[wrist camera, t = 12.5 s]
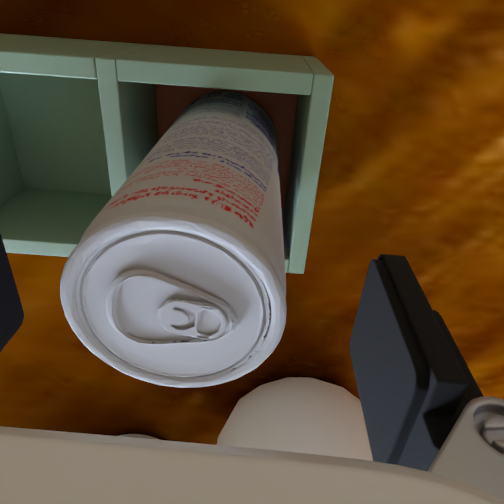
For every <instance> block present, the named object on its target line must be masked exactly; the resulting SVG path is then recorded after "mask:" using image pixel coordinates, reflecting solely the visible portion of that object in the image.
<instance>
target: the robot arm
mask: <svg viewBox="0 0 504 504" xmlns="http://www.w3.org/2000/svg"><path fill="white" fill-rule="evenodd" d="M23 318H24V312H23V308H22V305H21V302H20V298H19V295H18V291H17V288H16V284H15V281H14V278H13V274H12V271H11V267H10V264H9V260H8V257H7V254H6V250H5V247H4V243H3V240H2V236H1V234H0V352H1V350H2V349H3V348H4V347H5V345H6V344H7V343H8V341H9V340H10V339H11V338H12V336H13V335H14V334H15V333H16V331H17V330H18V329H19V327H20V326H21V324H22V322H23ZM350 355H351V359H352V364H353V369H354V373H355V378H356V383H357V388H358V392H359V397H360V402H361V406H362V411H363V416H364V420H365V425H366V430H367V435H368V439H369V444H370V449H371V453H372V458H373V461H368V460H362V459H354V458H344V457H335V456H326V455H316V454H307V453H297V452H288V451H279V450H268V449H256V448H245V447H234V446H223V445H212V444H201V443H190V442H178V441H167V440H156V439H145V438H133V437H121V436H109V435H98V434H86V433H74V432H62V431H50V430H38V429H26V428H14V427H2V426H0V504H504V399H500V398H496V397H483V395H482V393H481V391H480V389H479V387H478V385H477V383H476V381H475V379H474V378H473V376H472V374H471V372H470V370H469V368H468V366H467V364H466V362H465V361H464V359H463V357H462V355H461V353H460V351H459V349H458V347H457V345H456V343H455V342H454V340H453V338H452V336H451V334H450V332H449V330H448V328H447V326H446V324H445V323H444V321H443V319H442V317H441V315H440V314H439V313H438V312H437V311H435V310H432V308H431V306H430V304H429V302H428V300H427V298H426V296H425V294H424V292H423V290H422V289H421V287H420V285H419V283H418V281H417V279H416V277H415V275H414V273H413V271H412V269H411V267H410V265H409V263H408V261H407V259H406V258H405V256H398V255H385V254H381V255H380V256H379V257H378V260H376V259H372V260H371V262H370V264H369V268H368V272H367V276H366V280H365V284H364V288H363V292H362V296H361V299H360V303H359V307H358V311H357V315H356V319H355V323H354V327H353V331H352V335H351V339H350Z"/></svg>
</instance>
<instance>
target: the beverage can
mask: <svg viewBox="0 0 504 504" xmlns="http://www.w3.org/2000/svg"><path fill="white" fill-rule="evenodd" d="M60 296H61V302H62V306H63V310H64V313H65V316H66V318H67V320H68V322H69V324H70V326H71V328H72V330H73V331H74V333H75V334H76V335H77V337H78V338H79V339H80V341H81V342H82V343H83V344H84V345H85V346H86V347H87V348H88V349H89V350H90V351H91V352H92V353H93V354H95V355H96V356H97V357H98V358H100V359H101V360H102V361H104V362H105V363H107V364H109V365H110V366H112V367H114V368H115V369H117V370H119V371H120V372H122V373H124V374H127V375H129V376H131V377H134V378H136V379H139V380H143V381H146V382H150V383H153V384H157V385H162V386H171V387H179V388H190V387H205V386H212V385H217V384H222V383H225V382H228V381H232V380H235V379H237V378H239V377H241V376H243V375H245V374H247V373H249V372H251V371H252V370H254V369H256V368H257V367H258V366H259V365H261V364H262V363H263V362H264V361H265V360H266V359H267V358H268V357H269V356H270V355H271V354H272V353H273V351H274V350H275V348H276V347H277V345H278V343H279V342H280V340H281V337H282V334H283V331H284V328H285V325H286V310H287V308H286V298H285V297H286V274H285V258H284V243H283V227H282V211H281V195H280V179H279V163H278V147H277V136H276V131H275V128H274V125H273V123H272V121H271V119H270V117H269V116H268V114H267V113H266V111H265V110H264V109H263V108H262V107H261V106H260V105H259V104H258V103H257V102H255V101H254V100H252V99H251V98H249V97H247V96H245V95H242V94H240V93H236V92H230V91H216V92H211V93H207V94H205V95H203V96H200V97H198V98H197V99H196V100H194V101H193V102H191V103H190V104H189V105H188V106H187V107H186V108H185V110H184V111H183V112H182V114H181V115H180V116H179V117H178V118H177V120H176V121H175V122H174V123H173V124H172V126H171V127H170V128H169V129H168V130H167V132H166V133H165V134H164V135H163V137H162V138H161V139H160V140H159V141H158V143H157V144H156V145H155V146H154V147H153V149H152V150H151V151H150V152H149V153H148V155H147V156H146V157H145V158H144V159H143V161H142V162H141V163H140V164H139V165H138V167H137V168H136V169H135V170H134V172H133V173H132V174H131V175H130V176H129V178H128V179H127V180H126V181H125V182H124V184H123V185H122V186H121V187H120V188H119V190H118V191H117V192H116V193H115V194H114V196H113V197H112V198H111V199H110V200H109V202H108V203H107V204H106V205H105V206H104V208H103V209H102V210H101V211H100V213H99V214H98V215H97V216H96V217H95V219H94V220H93V221H92V222H91V224H90V225H89V226H88V228H87V229H86V231H85V232H84V234H83V236H82V238H81V241H80V243H79V244H78V245H77V246H76V247H75V249H74V250H73V251H72V252H71V254H70V256H69V258H68V260H67V262H66V264H65V266H64V269H63V273H62V277H61V281H60Z"/></svg>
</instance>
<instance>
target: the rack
mask: <svg viewBox="0 0 504 504" xmlns="http://www.w3.org/2000/svg"><path fill="white" fill-rule="evenodd" d="M333 81H334V75H333V74H332V73H331V72H330V71H329V70H328V69H327V68H326V67H325V66H324V65H323V64H322V63H321V62H320V61H319V59H317V58H316V57H312V56H298V55H285V54H271V53H258V52H244V51H231V50H217V49H204V48H191V47H177V46H164V45H150V44H137V43H123V42H110V41H96V40H83V39H69V38H56V37H42V36H29V35H16V34H2V33H0V234H1V236H2V240H3V243H4V247H5V250H6V252H9V253H22V254H36V255H50V256H63V257H69V256H70V254H71V252H72V251H73V250H74V249H75V247H76V246H77V245H78V244H79V243H80V241H81V238H82V236H83V234H84V232H85V231H86V229H87V228H88V226H89V225H90V224H91V222H92V221H93V220H94V219H95V217H96V216H97V215H98V214H99V213H100V211H101V210H102V209H103V208H104V206H105V205H106V204H107V203H108V202H109V200H110V199H111V198H112V197H113V196H114V194H115V193H116V192H117V191H118V190H119V188H120V187H121V186H122V185H123V184H124V182H125V181H126V180H127V179H128V178H129V176H130V175H131V174H132V173H133V172H134V170H135V169H136V168H137V167H138V165H139V164H140V163H141V162H142V161H143V159H144V158H145V157H146V156H147V155H148V153H149V152H150V151H151V150H152V149H153V147H154V146H155V145H156V144H157V143H158V141H159V140H160V139H161V138H162V137H163V135H164V134H165V133H166V132H167V130H168V129H169V128H170V127H171V126H172V124H173V123H174V122H175V121H176V120H177V118H178V117H179V116H180V115H181V114H182V112H183V111H184V110H185V108H186V107H187V106H188V105H189V104H190V103H191V102H193V101H194V100H196V99H197V98H198V97H200V96H203V95H205V94H207V93H211V92H216V91H230V92H236V93H240V94H242V95H245V96H247V97H249V98H251V99H252V100H254V101H255V102H257V103H258V104H259V105H260V106H261V107H262V108H263V109H264V110H265V111H266V113H267V114H268V116H269V117H270V119H271V121H272V123H273V125H274V128H275V131H276V136H277V147H278V163H279V179H280V195H281V211H282V227H283V243H284V258H285V273H287V272H288V273H297V274H303V273H304V269H305V262H306V256H307V249H308V243H309V237H310V230H311V224H312V217H313V211H314V204H315V198H316V191H317V185H318V178H319V172H320V165H321V159H322V152H323V146H324V139H325V133H326V126H327V120H328V113H329V107H330V101H331V94H332V88H333Z"/></svg>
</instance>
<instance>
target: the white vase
mask: <svg viewBox="0 0 504 504" xmlns="http://www.w3.org/2000/svg"><path fill="white" fill-rule="evenodd" d="M217 445H223V446H234V447H245V448H256V449H268V450H279V451H288V452H297V453H307V454H316V455H326V456H335V457H344V458H354V459H362V460H368V461H373V458H372V453H371V449H370V444H369V439H368V435H367V430H366V425H365V420H364V416H363V411H362V406H361V402H360V400H359V399H358V398H356V397H355V396H354V395H352V394H351V393H350V392H348V391H347V390H346V389H344V388H343V387H341V386H337V385H334V384H331V383H328V382H324V381H321V380H318V379H315V378H311V377H287V378H283V379H280V380H276V381H273V382H269V383H266V384H263V385H260V386H258V387H257V388H255V389H254V390H252V391H251V392H249V393H248V394H247V395H245V396H244V397H242V398H241V399H239V400H238V402H237V404H236V406H235V408H234V409H233V411H232V413H231V415H230V416H229V418H228V420H227V422H226V424H225V425H224V427H223V429H222V431H221V433H220V434H219V436H218V439H217Z"/></svg>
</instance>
